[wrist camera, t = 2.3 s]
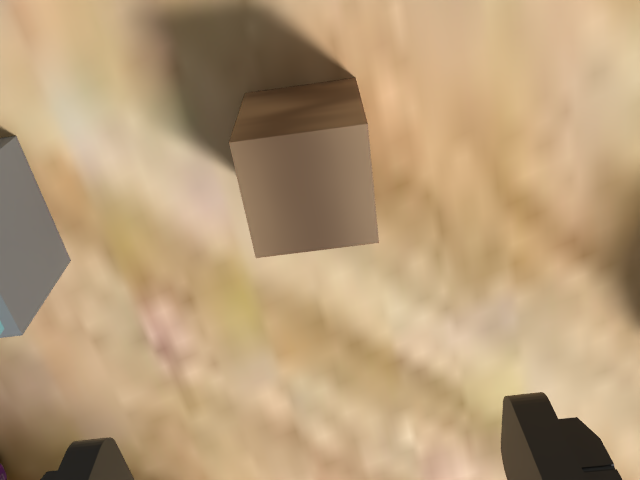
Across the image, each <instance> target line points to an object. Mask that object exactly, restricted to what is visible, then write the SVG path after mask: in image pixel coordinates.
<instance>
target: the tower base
mask: <svg viewBox="0 0 640 480" xmlns="http://www.w3.org/2000/svg"><path fill="white" fill-rule="evenodd" d="M70 261H71V260H70V258H69V255H68V253H67V251H66V248H65V246H64V244H63V242H62V239H61V237H60V235H59V232H58V230H57V228H56V226H55V223H54V221H53V219H52V216H51V214H50V212H49V210H48V207H47V205H46V203H45V200H44V198H43V196H42V194H41V191H40V189H39V187H38V184H37V182H36V180H35V178H34V175H33V173H32V171H31V168H30V166H29V164H28V162H27V159H26V157H25V155H24V152H23V150H22V148H21V146H20V143H19V141H18V139H17V136H12V137H5V138H0V321H1V323H2V325H3V327H4V330H3V332H2V333H1V334H0V338H3V337H11V336H20V335H23V333H24V332H25V330H26V329H27V327H28V326H29V324H30V323H31V321H32V320H33V318H34V316H35V315H36V313H37V312H38V310H39V309H40V307H41V306H42V304H43V303H44V301H45V300H46V298H47V296H48V295H49V293H50V292H51V290H52V289H53V287H54V286H55V284H56V283H57V281H58V280H59V278H60V276H61V275H62V273H63V272H64V270H65V269H66V267H67V266H68V264H69V263H70Z"/></svg>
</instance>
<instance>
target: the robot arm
mask: <svg viewBox="0 0 640 480" xmlns="http://www.w3.org/2000/svg"><path fill="white" fill-rule="evenodd" d="M501 453H502V460H503V465H504V470H505V473H506V477H507V480H622V478H621V476H620V474H619V473H618V471H617V469H616V470H615V468H614V463H613V462H612V460H611V458H610V456H609V454H608V452H607V450H606V449H605V447H604V445H603V443H602V441H601V439H600V438H599V437H598V436H597V435H596V434H595V433H594V432H592V431H591V430H590V429H589V428H588V427H587V426H586V425H585V424H584V423H583V422H582V421H580V420H579V419H578V418H577V417H576V418H566V419H558V418H557V416H556V414H555V412H554V409H553V407H552V405H551V403H550V401H549V399H548V397H547V396H546V395H545V394H544V393H543V392H540V393H530V394H521V395H512V396H505V397H504V400H503V415H502V433H501ZM40 480H134V478H133V476H132V474H131V472H130V470H129V468H128V466H127V464H126V462H125V460H124V458H123V456H122V454H121V452H120V450H119V448H118V446H117V444H116V442H115V440H114V439H113V438H100V439H91V440H82V441H75V442H73V443H72V444H71V445H70V446H69V447H68V449H67V451H66V453H65V455H64V458H63V460H62V462H61V465H60V467H59V469H58V470H57V471H48V472H46V474H45V475H44V476H43V477H42V478H41V479H40Z"/></svg>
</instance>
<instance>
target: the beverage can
mask: <svg viewBox="0 0 640 480" xmlns="http://www.w3.org/2000/svg"><path fill="white" fill-rule="evenodd" d="M0 480H7V476H6V472H5V470H4V468H3V466H2V464H1V463H0Z"/></svg>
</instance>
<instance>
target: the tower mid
mask: <svg viewBox="0 0 640 480" xmlns="http://www.w3.org/2000/svg"><path fill="white" fill-rule="evenodd" d="M3 330H4V327H3V325H2V323H1V321H0V334H1V333H2V332H3Z"/></svg>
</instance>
